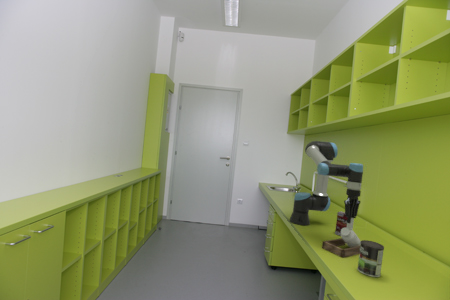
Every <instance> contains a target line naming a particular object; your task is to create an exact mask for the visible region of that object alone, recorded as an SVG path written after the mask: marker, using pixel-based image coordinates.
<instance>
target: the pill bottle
mask: <svg viewBox="0 0 450 300" xmlns="http://www.w3.org/2000/svg"><path fill="white" fill-rule="evenodd" d="M340 238H342V239H343V240H344V241H345V245H347V247H348V248H352V247H356V246H360V244H361V243H360V242H361V239H360V238H359V237H358V235H357V233H356V232H355V231H354V230H353V229H349V228H346V227H345V228H342V229H341V236H340Z"/></svg>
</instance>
